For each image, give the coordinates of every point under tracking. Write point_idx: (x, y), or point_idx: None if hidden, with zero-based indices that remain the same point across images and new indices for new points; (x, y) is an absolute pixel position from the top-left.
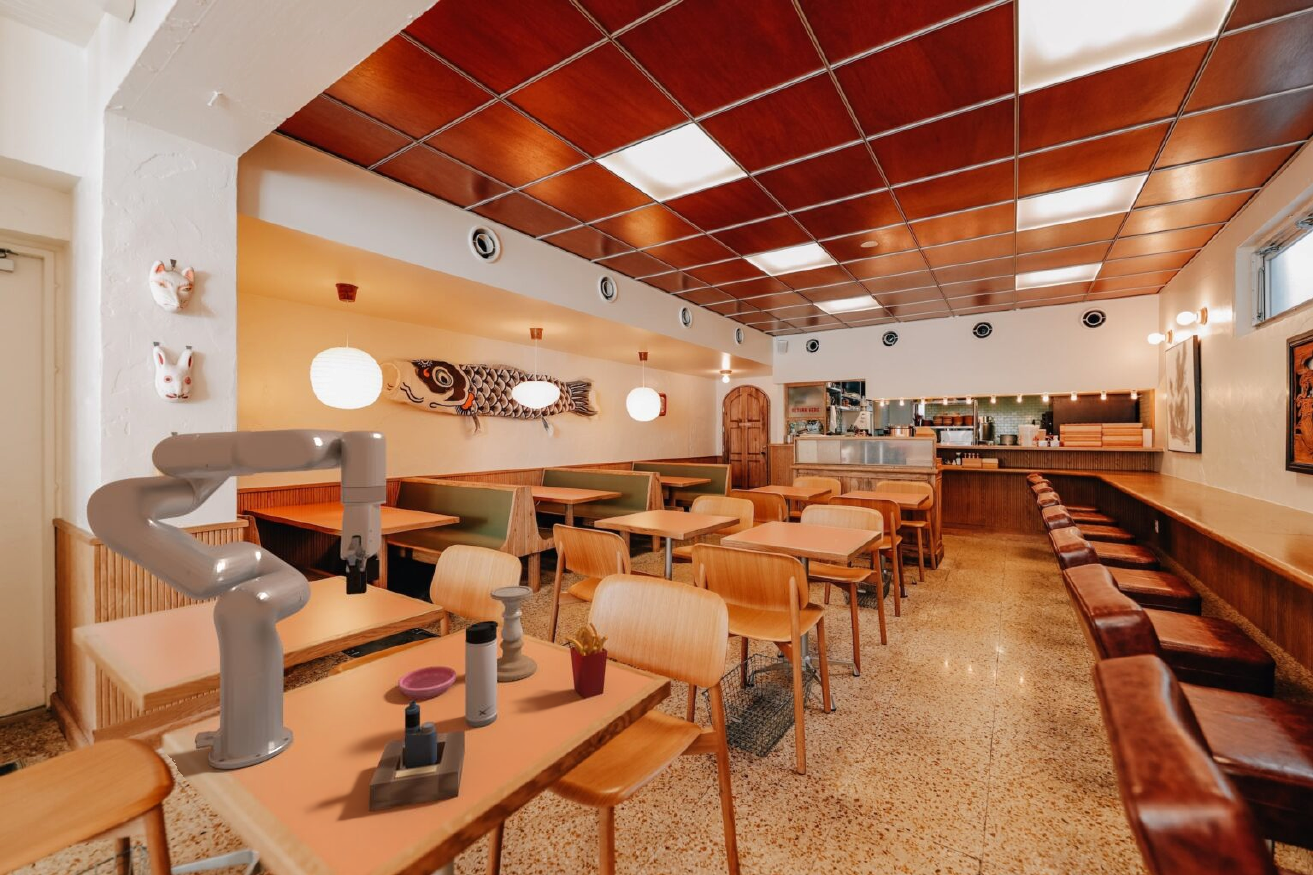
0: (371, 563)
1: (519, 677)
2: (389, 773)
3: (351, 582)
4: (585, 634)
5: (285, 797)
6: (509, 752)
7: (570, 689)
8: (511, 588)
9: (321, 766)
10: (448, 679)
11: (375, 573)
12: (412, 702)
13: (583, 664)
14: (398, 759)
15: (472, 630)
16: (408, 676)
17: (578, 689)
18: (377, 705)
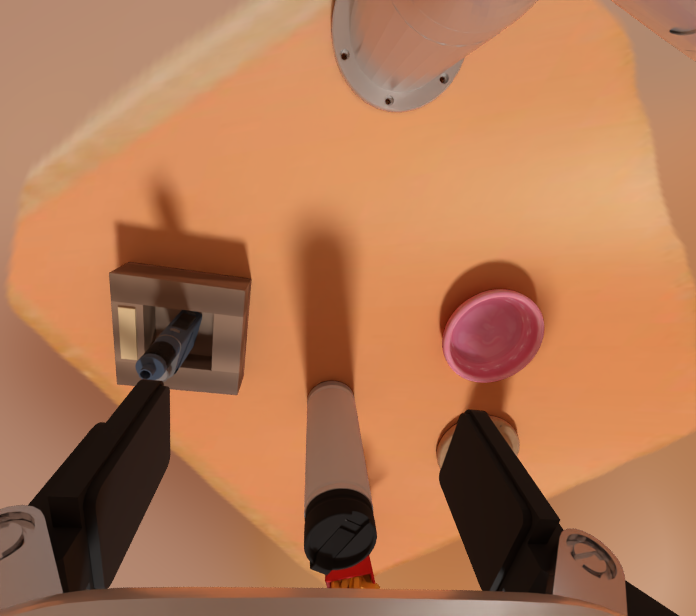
0: (490, 550)
1: (437, 456)
2: (137, 298)
3: (68, 462)
4: None
5: (202, 134)
6: (221, 424)
7: None
8: None
9: (281, 179)
10: (491, 364)
11: (455, 500)
12: (150, 373)
13: None
14: (176, 308)
15: (315, 527)
16: (527, 306)
17: None
18: (467, 251)
